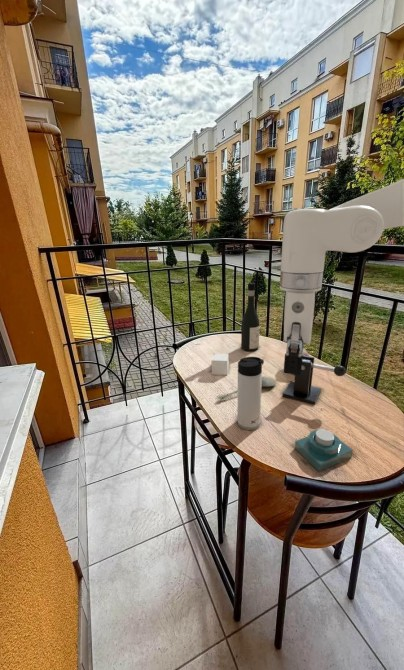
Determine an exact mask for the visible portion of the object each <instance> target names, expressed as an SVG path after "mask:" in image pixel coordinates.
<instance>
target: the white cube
mask: <svg viewBox="0 0 404 670" xmlns="http://www.w3.org/2000/svg"><path fill="white" fill-rule="evenodd" d="M229 356H230V355H229V354H228V353H213V354H212V357H211V361H210V364H211V365H210V366H211V375H215V376H216V375H217V376H219V375H220V376H228V374H229V369H230V368H229V367H230V365H229V364H230V363H229V362H230V361H229V358H230V357H229Z"/></svg>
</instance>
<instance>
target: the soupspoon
mask: <svg viewBox="0 0 404 670" xmlns="http://www.w3.org/2000/svg"><path fill="white" fill-rule="evenodd" d="M275 386H276V383H275V382H274V381H273V380H272V379H269V378H268V377H263V376H262V384H261V387H275ZM236 393H237V394H238V389H236V390H235V391H232V392H229V393H226V394H224V395H221V396H220V395H219V396H218V398H219V400H220V402H223V400H224V399H225V398H227V397H230V396H232V395H234V394H236Z"/></svg>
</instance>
